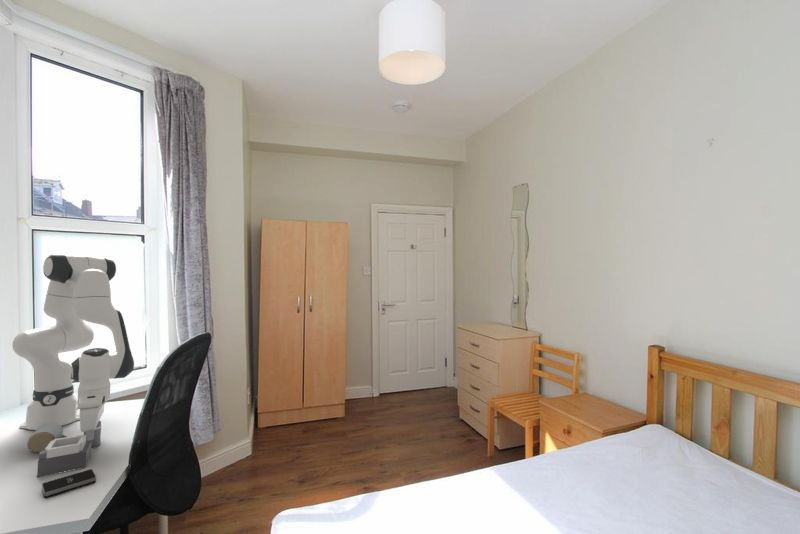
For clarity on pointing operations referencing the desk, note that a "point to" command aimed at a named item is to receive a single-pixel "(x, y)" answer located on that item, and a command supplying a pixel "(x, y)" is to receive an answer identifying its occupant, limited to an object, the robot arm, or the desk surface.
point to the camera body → (64, 455)
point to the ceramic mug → (44, 436)
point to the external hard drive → (68, 483)
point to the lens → (96, 436)
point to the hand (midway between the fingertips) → (92, 435)
